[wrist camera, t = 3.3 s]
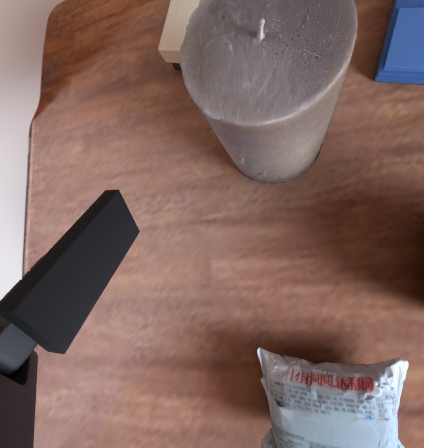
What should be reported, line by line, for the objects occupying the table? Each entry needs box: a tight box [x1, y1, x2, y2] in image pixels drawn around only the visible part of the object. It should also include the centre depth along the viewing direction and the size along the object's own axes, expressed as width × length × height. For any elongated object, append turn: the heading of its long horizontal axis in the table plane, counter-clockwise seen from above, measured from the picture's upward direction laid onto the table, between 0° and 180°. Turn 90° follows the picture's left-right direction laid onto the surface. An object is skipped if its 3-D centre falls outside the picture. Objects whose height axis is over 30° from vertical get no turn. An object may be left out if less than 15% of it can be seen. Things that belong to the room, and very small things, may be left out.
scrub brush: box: [158, 0, 201, 69], centre depth 29 cm, size 6×13×4 cm, turn 165°
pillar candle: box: [180, 0, 358, 183], centre depth 20 cm, size 10×10×15 cm
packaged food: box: [257, 348, 409, 448], centre depth 21 cm, size 9×12×5 cm
